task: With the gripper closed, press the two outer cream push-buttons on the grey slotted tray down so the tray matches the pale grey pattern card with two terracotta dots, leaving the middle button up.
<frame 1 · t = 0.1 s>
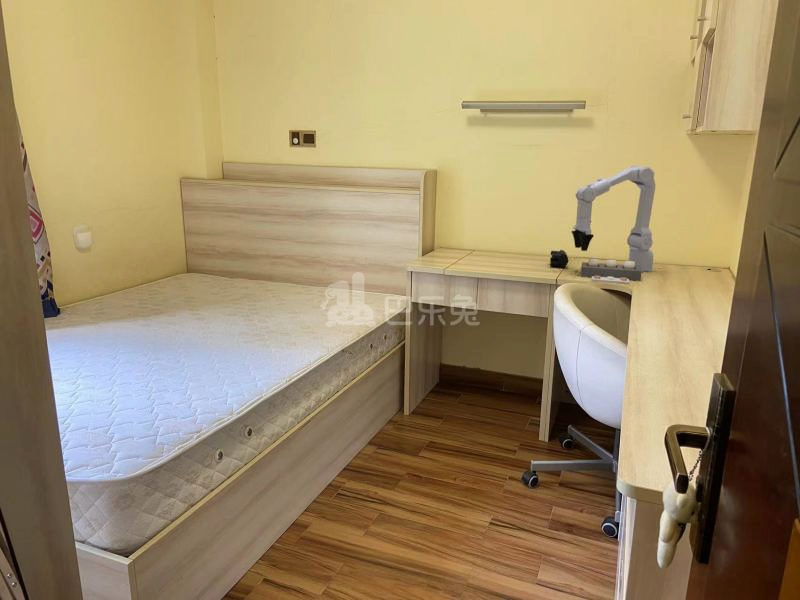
hand: (580, 249, 254), 10 cm above the table, fingers open, 7 cm apart
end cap: (558, 267, 269), on the table
pattern card: (610, 281, 241), on the table
button b: (611, 265, 249), point 4 cm above the table, slide at 0.0 cm
grey slotted tray: (609, 276, 250), on the table
button c: (593, 264, 251), point 4 cm above the table, slide at 0.0 cm
button a: (629, 266, 247), point 5 cm above the table, slide at 0.0 cm
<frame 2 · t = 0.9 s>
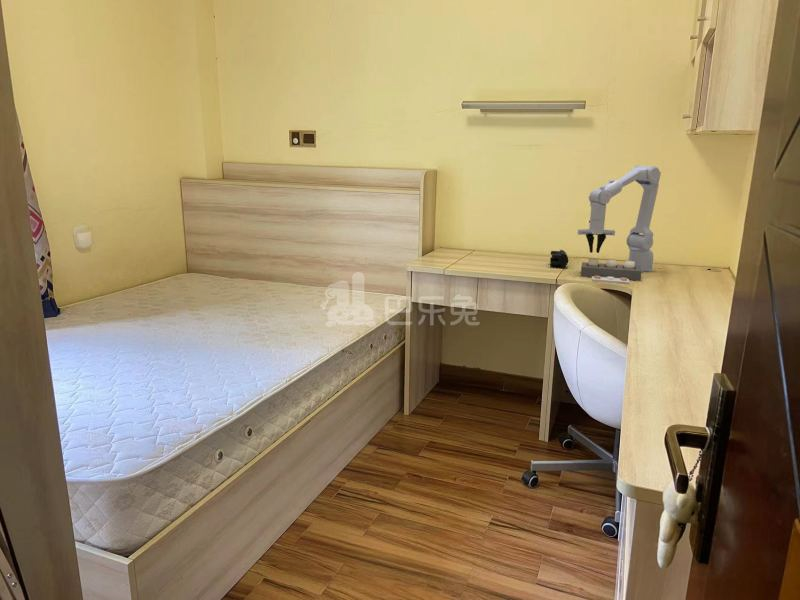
hand: (594, 252, 250), 9 cm above the table, fingers closed
nothing on the table moved.
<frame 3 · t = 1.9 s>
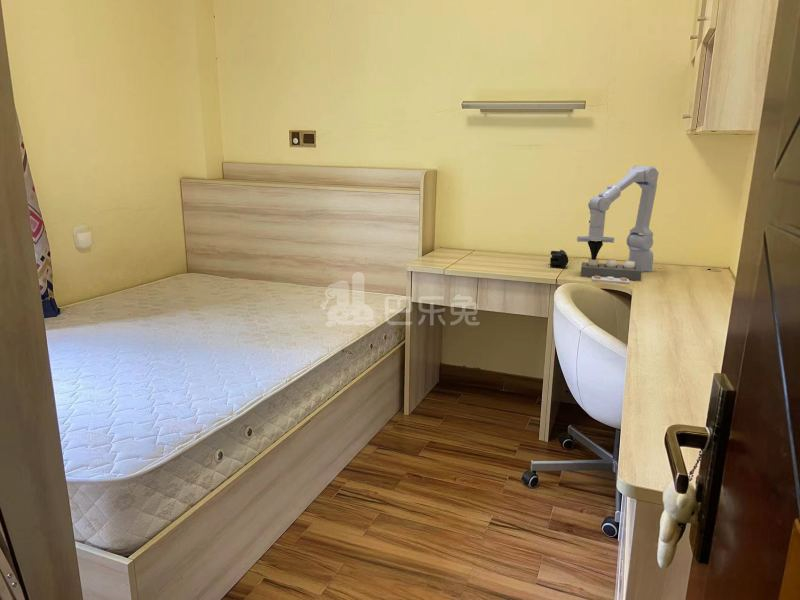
hand: (593, 259, 251), 6 cm above the table, fingers closed, pressing on button c
button c: (593, 264, 251), point 4 cm above the table, slide at 0.0 cm, touching gripper
everything else where it was.
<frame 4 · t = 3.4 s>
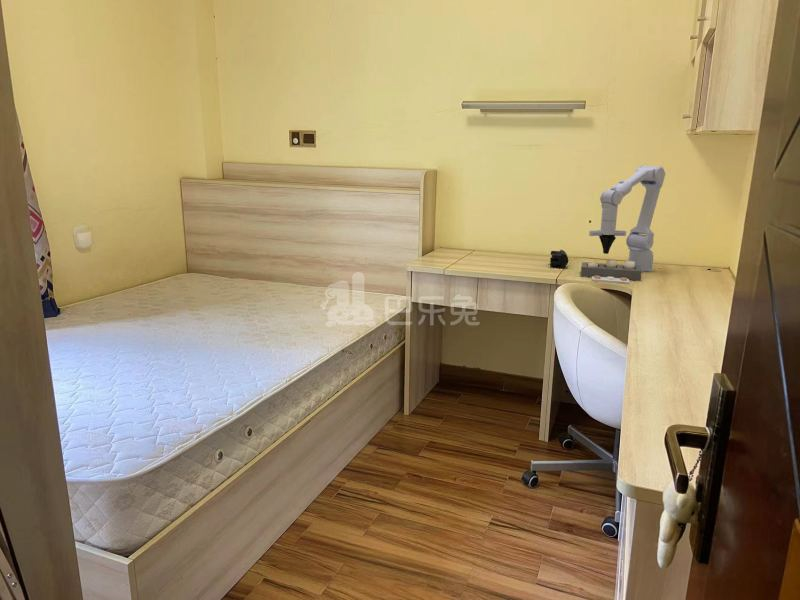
hand: (605, 253, 249), 9 cm above the table, fingers closed
button c: (592, 268, 252), point 3 cm above the table, slide at 1.9 cm
everything else where it was.
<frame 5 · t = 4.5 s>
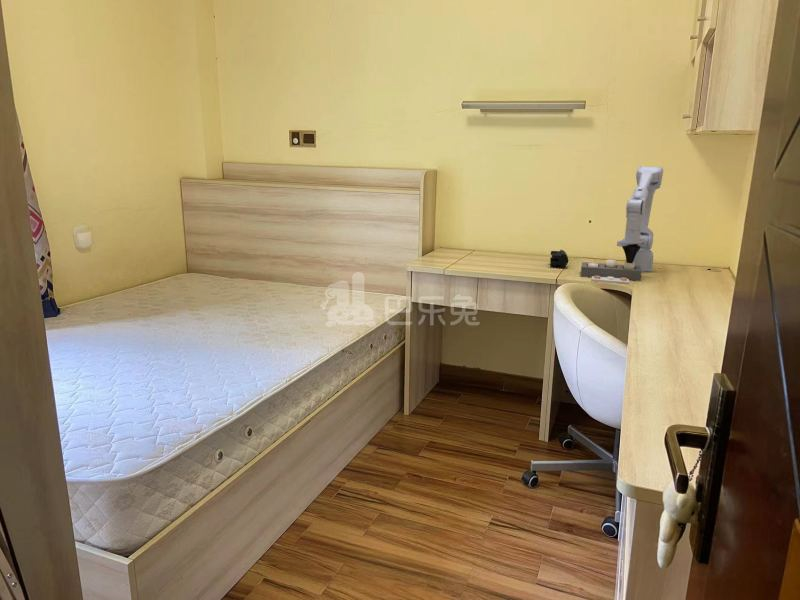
hand: (629, 262, 247), 6 cm above the table, fingers closed, pressing on button a
button a: (629, 267, 247), point 4 cm above the table, slide at 0.4 cm, touching gripper
everything else where it was.
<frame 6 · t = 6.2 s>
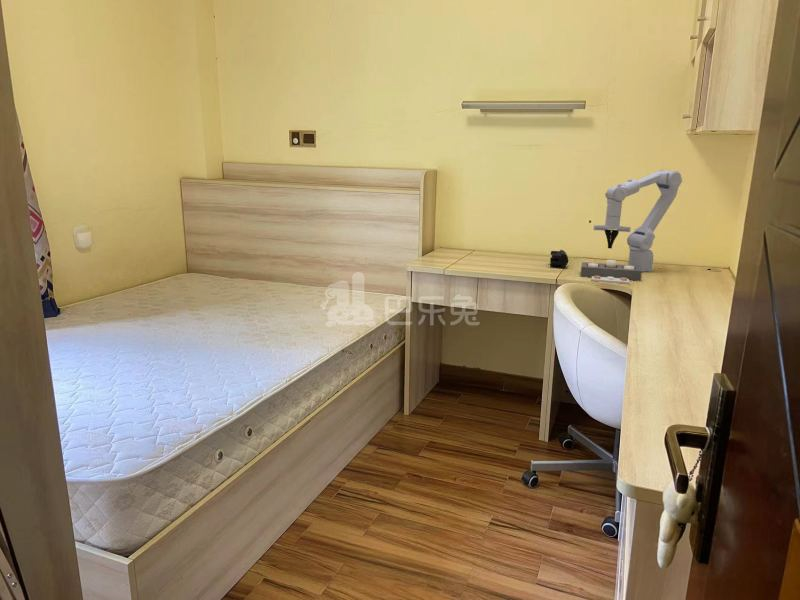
hand: (609, 248, 256), 10 cm above the table, fingers closed
button a: (628, 271, 248), point 3 cm above the table, slide at 1.9 cm
everything else where it was.
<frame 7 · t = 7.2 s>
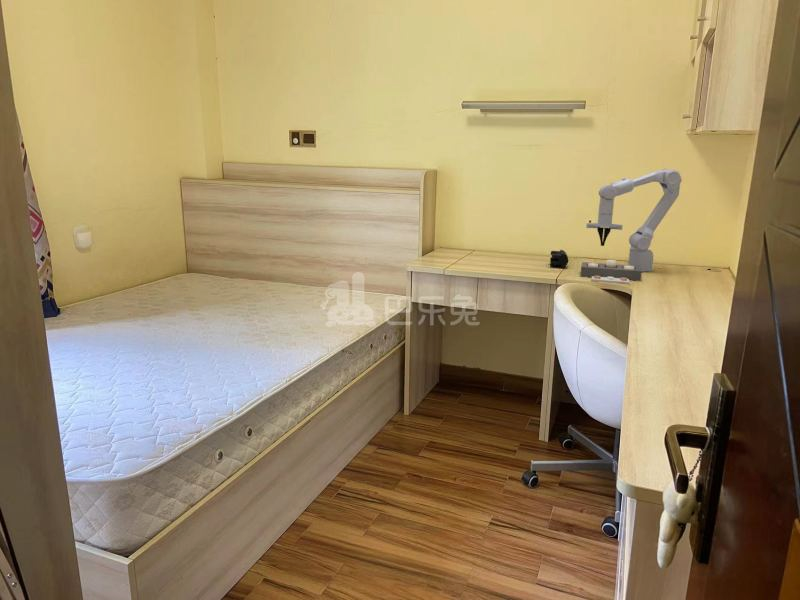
hand: (602, 245, 261), 10 cm above the table, fingers closed
nothing on the table moved.
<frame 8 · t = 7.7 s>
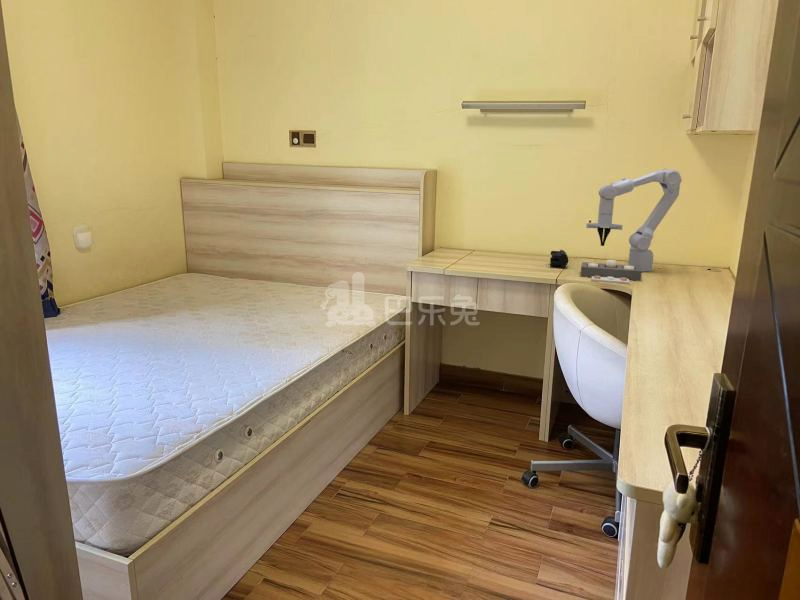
hand: (602, 245, 261), 10 cm above the table, fingers closed
nothing on the table moved.
at the end: button a slide at 1.9 cm; button c slide at 1.9 cm; button b slide at 0.0 cm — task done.
